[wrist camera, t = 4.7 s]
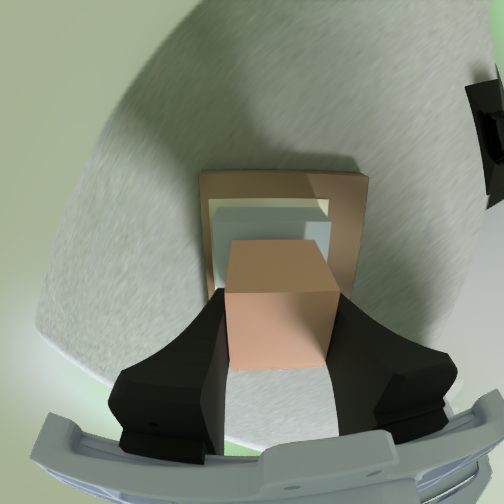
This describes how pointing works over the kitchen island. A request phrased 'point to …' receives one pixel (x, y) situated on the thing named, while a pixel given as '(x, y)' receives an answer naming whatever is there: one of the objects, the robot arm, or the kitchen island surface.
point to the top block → (279, 304)
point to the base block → (266, 229)
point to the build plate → (490, 133)
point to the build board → (291, 195)
